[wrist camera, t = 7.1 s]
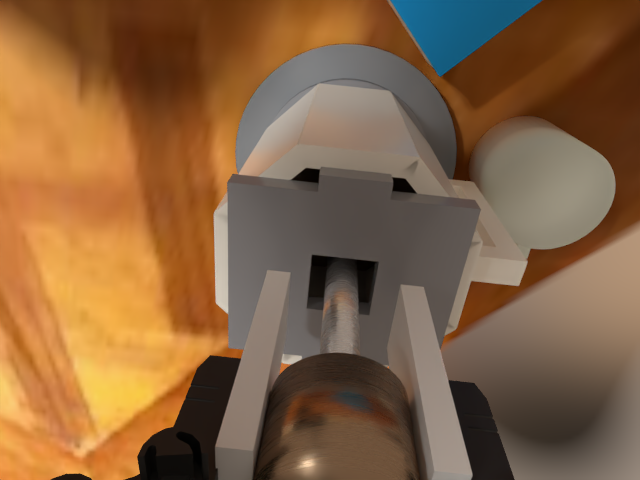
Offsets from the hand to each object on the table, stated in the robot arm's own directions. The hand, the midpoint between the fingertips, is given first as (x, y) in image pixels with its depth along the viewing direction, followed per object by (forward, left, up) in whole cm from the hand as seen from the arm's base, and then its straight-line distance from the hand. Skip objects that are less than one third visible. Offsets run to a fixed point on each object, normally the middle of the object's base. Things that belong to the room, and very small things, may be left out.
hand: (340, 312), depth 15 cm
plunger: (0, 0, -9) cm, 9 cm away
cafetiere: (0, +1, -15) cm, 15 cm away
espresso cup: (-1, +11, -16) cm, 20 cm away
